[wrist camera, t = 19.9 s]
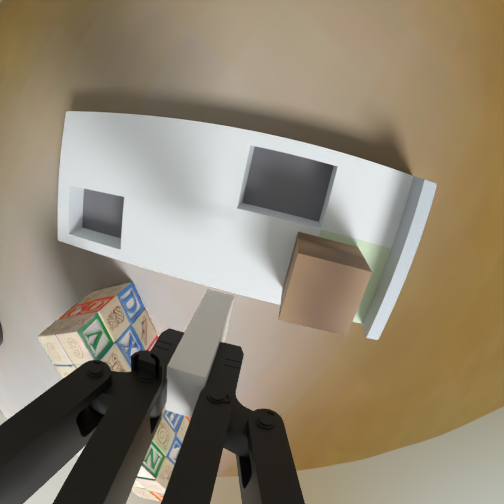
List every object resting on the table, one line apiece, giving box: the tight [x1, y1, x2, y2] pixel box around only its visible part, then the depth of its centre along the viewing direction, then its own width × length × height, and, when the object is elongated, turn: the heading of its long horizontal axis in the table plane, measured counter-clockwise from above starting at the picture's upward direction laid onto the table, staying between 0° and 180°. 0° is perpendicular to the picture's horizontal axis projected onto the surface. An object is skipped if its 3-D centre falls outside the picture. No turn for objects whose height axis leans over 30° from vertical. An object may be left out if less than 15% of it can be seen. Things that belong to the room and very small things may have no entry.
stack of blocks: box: [38, 282, 191, 501], centre depth 26 cm, size 21×6×12 cm, turn 17°
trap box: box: [58, 111, 437, 340], centre depth 22 cm, size 29×12×4 cm, turn 78°
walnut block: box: [279, 232, 372, 335], centre depth 20 cm, size 4×4×4 cm
